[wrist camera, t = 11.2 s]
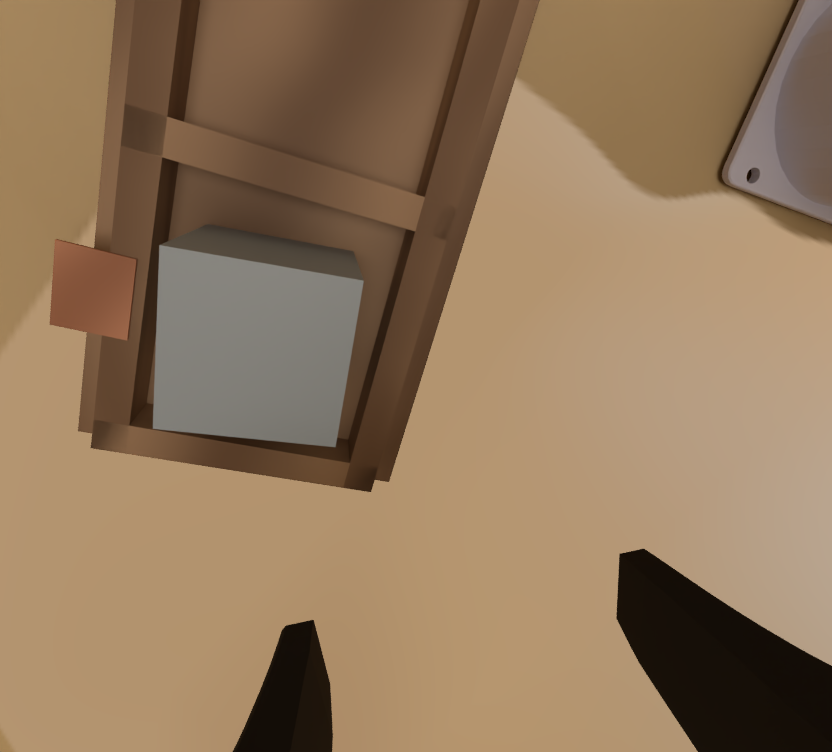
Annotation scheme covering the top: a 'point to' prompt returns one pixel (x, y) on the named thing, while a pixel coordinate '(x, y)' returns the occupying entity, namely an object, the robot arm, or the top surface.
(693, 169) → the top surface
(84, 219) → the top surface
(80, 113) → the top surface
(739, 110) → the top surface
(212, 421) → the slate block
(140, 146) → the slot rack
